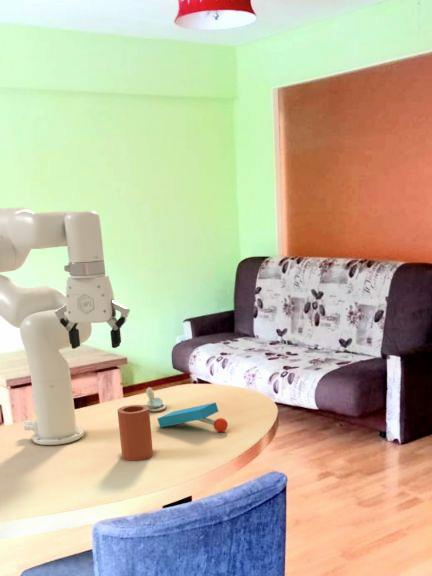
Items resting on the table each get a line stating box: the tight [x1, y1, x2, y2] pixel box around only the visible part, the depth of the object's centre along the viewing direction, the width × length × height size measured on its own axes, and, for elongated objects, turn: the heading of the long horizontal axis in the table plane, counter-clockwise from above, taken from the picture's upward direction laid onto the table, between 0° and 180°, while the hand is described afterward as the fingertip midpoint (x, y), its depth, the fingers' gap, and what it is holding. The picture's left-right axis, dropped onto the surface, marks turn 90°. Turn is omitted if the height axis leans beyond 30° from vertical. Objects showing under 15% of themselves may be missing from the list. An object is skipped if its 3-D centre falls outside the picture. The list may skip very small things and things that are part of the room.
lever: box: [157, 402, 229, 433], centre depth 185 cm, size 7×7×18 cm
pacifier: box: [144, 386, 167, 412], centre depth 203 cm, size 7×6×6 cm
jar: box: [117, 404, 154, 461], centre depth 167 cm, size 7×7×11 cm
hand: (95, 347), depth 165 cm, fingers open, 9 cm apart
